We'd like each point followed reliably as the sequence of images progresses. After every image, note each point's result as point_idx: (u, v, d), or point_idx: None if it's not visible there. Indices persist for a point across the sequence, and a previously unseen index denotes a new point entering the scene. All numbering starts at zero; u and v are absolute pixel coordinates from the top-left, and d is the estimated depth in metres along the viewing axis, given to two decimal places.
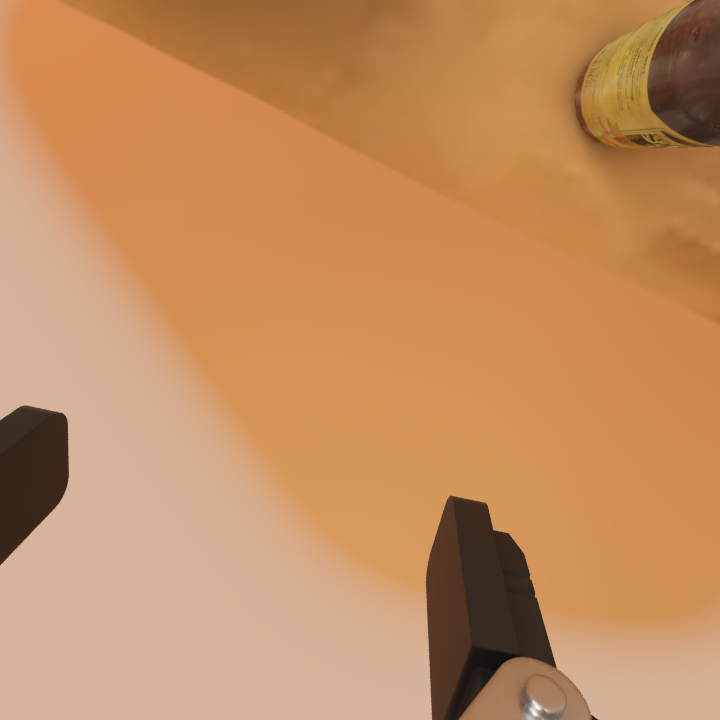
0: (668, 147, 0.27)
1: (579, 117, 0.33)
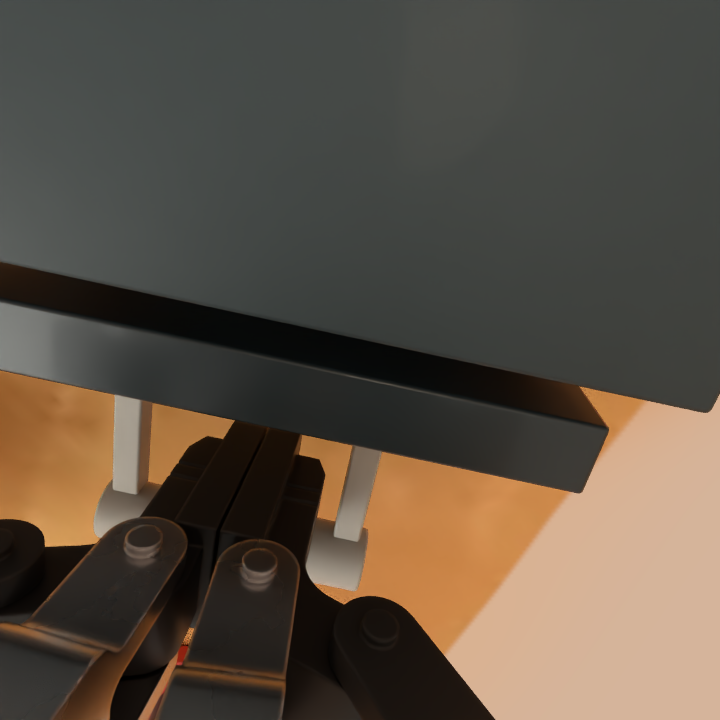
0: None
1: None
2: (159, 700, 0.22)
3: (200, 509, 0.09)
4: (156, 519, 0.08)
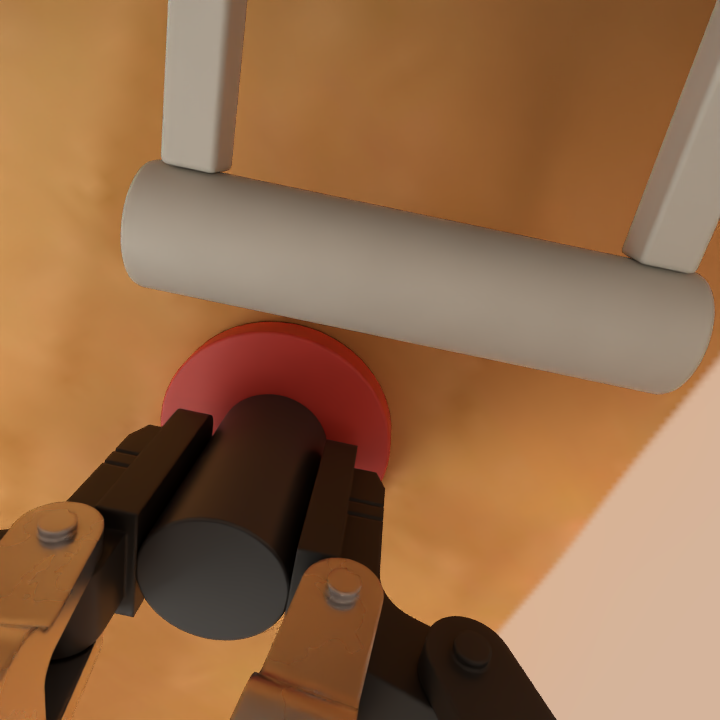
0: None
1: None
2: (228, 413, 0.12)
3: (124, 495, 0.09)
4: (76, 504, 0.08)
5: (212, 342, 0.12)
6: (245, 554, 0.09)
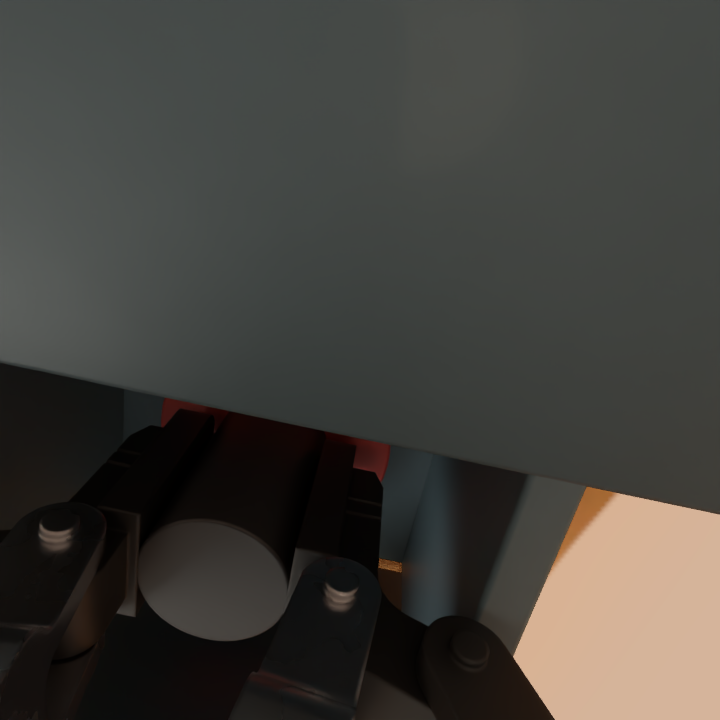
0: None
1: None
2: (228, 413, 0.12)
3: (126, 495, 0.09)
4: (78, 504, 0.08)
5: None
6: (245, 555, 0.09)
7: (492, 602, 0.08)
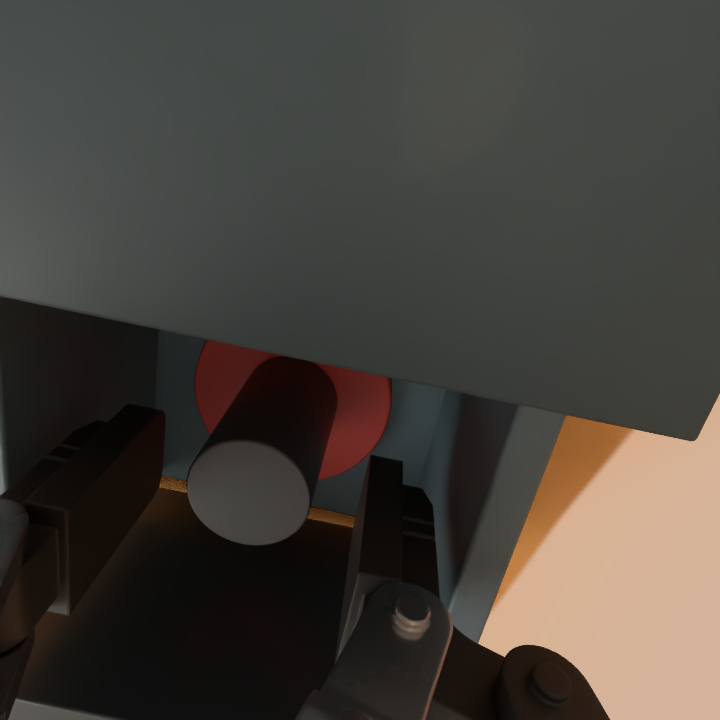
0: None
1: None
2: (253, 372, 0.15)
3: (56, 490, 0.09)
4: (2, 499, 0.08)
5: None
6: (276, 470, 0.11)
7: (485, 528, 0.09)
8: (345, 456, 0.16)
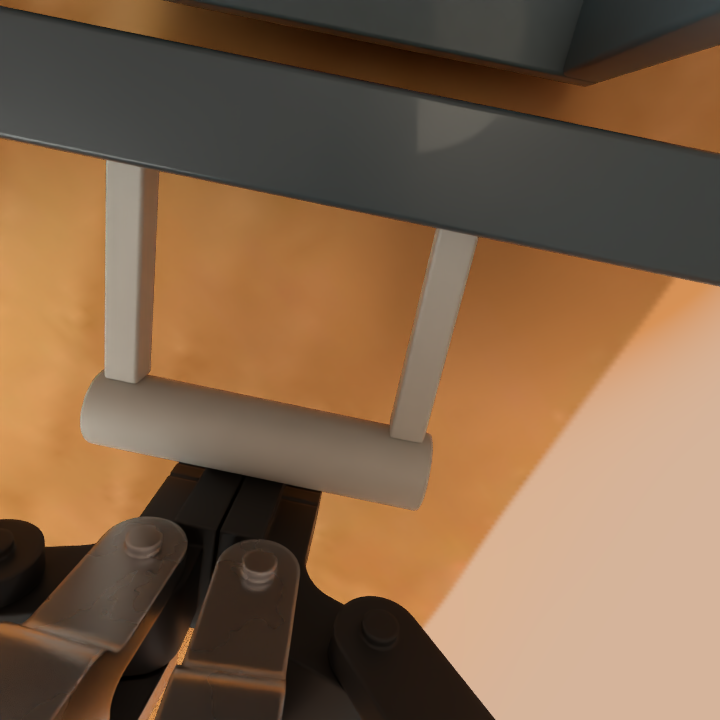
0: None
1: None
2: None
3: (200, 509, 0.09)
4: (156, 519, 0.08)
5: None
6: None
7: None
8: None
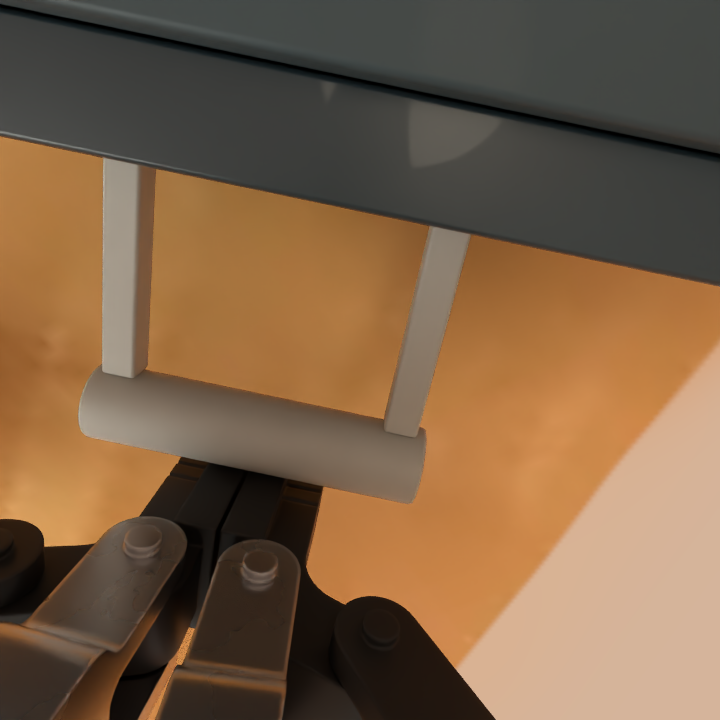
0: None
1: None
2: None
3: (199, 509, 0.09)
4: (155, 519, 0.08)
5: None
6: None
7: None
8: None
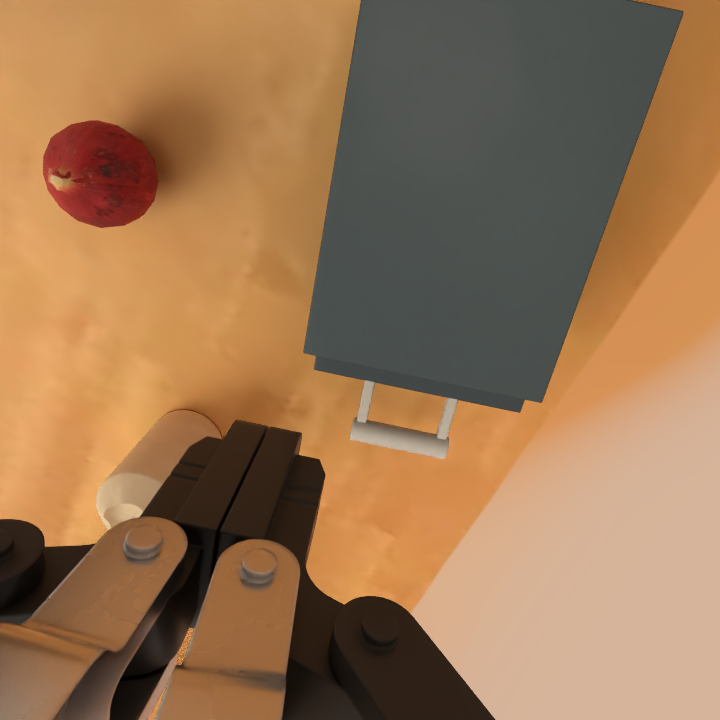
0: None
1: None
2: None
3: (200, 509, 0.09)
4: (156, 519, 0.08)
5: None
6: None
7: None
8: None
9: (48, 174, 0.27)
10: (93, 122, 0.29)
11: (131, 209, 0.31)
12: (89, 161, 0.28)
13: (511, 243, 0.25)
